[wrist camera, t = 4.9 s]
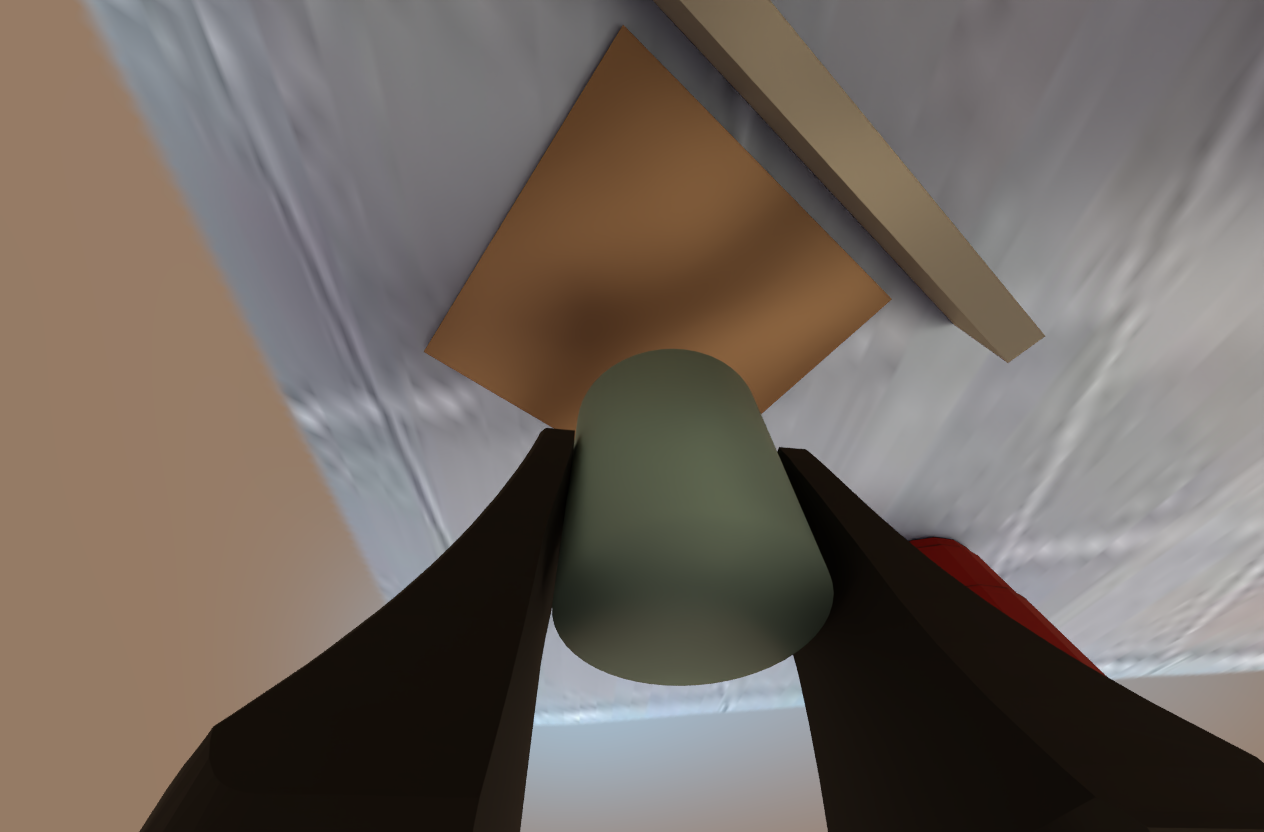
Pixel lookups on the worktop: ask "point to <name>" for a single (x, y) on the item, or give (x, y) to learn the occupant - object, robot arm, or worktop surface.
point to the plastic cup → (994, 590)
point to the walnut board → (649, 256)
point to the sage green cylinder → (683, 530)
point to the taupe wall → (853, 163)
